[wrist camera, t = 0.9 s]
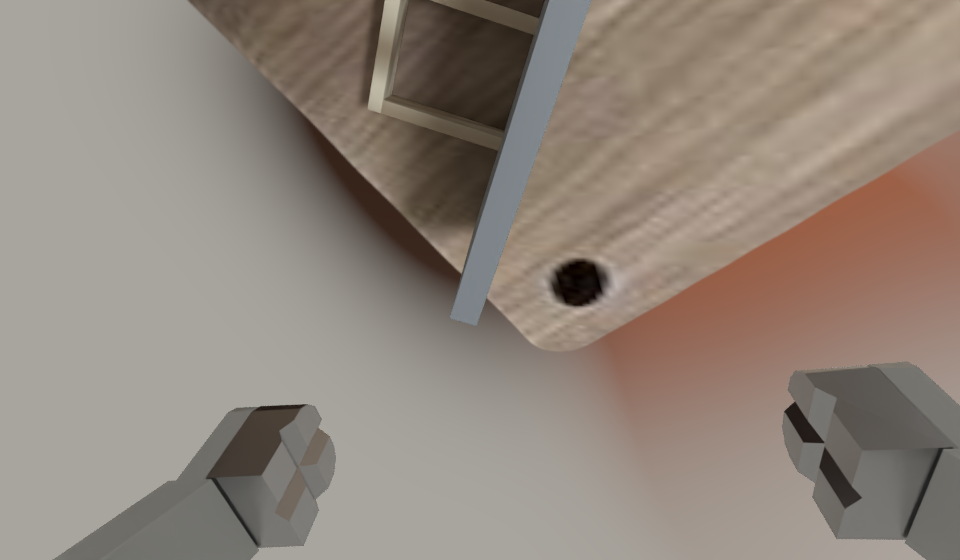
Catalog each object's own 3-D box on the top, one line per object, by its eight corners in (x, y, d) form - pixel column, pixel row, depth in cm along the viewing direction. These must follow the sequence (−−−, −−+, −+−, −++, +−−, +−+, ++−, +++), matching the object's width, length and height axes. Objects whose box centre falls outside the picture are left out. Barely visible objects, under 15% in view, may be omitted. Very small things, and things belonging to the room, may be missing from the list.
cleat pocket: (399, -29, 39) (390, -32, 37) (539, 18, 40) (539, 18, 38) (377, 103, 45) (367, 109, 42) (500, 143, 46) (498, 151, 43)
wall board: (577, -106, 36) (611, -196, 20) (602, -98, 36) (654, -180, 20) (476, 221, 50) (449, 318, 34) (494, 227, 50) (476, 326, 34)
